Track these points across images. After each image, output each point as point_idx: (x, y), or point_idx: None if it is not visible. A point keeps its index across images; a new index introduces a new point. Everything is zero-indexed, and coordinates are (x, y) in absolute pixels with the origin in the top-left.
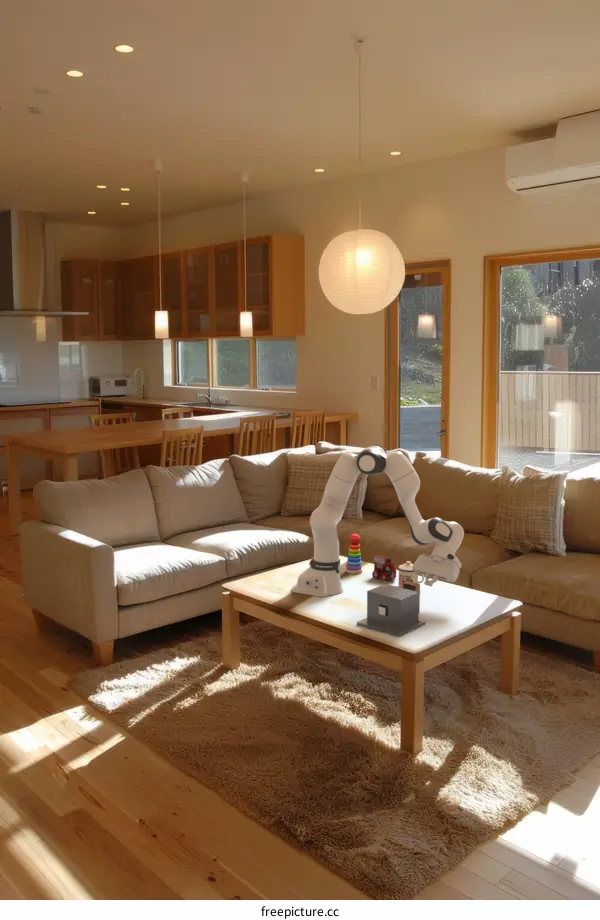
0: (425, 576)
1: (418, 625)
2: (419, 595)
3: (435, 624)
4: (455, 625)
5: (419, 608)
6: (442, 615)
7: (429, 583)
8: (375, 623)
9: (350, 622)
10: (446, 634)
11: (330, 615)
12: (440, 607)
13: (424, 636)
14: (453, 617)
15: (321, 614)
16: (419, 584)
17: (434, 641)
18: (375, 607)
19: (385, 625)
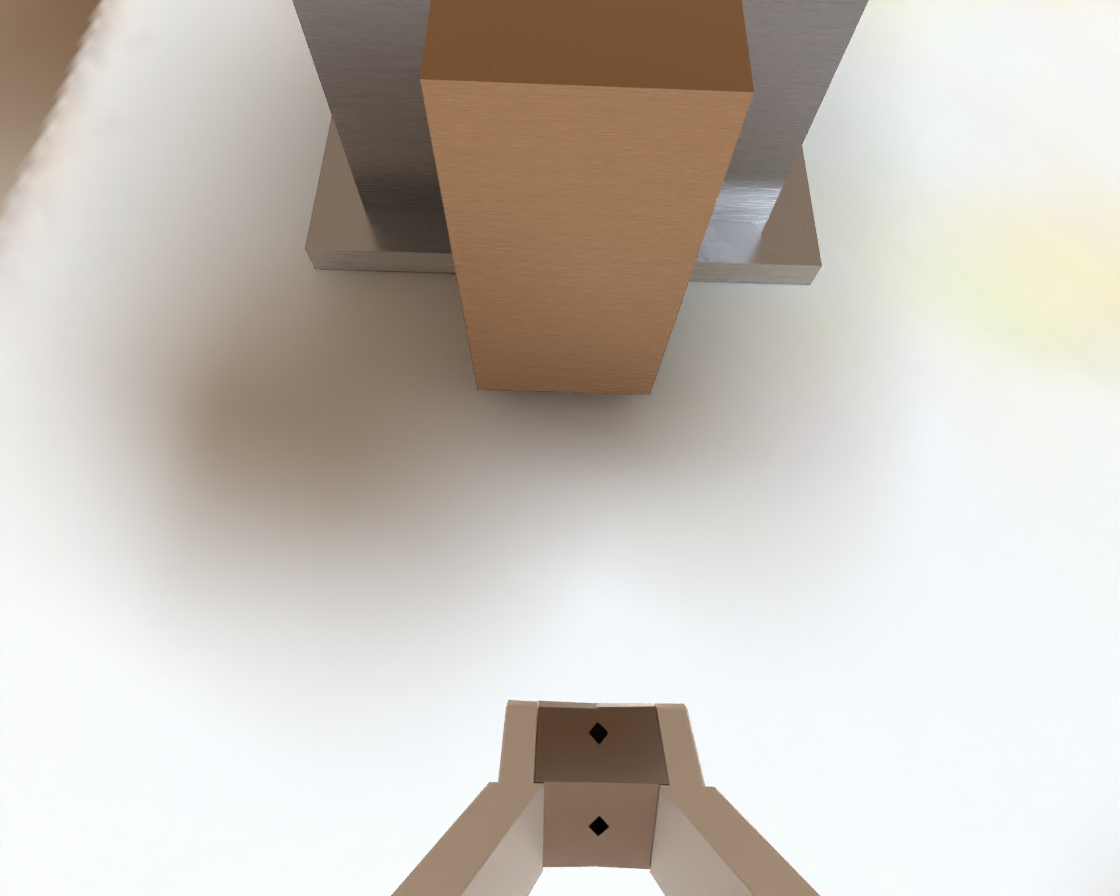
0: (787, 868)
1: (325, 154)
2: (452, 245)
3: (233, 326)
4: (27, 421)
5: (473, 362)
6: (276, 604)
7: (531, 708)
8: None
9: None
10: (46, 192)
11: (1053, 23)
12: None
13: (207, 74)
14: (126, 631)
15: (1111, 6)
16: (422, 71)
17: (95, 43)
18: None
19: None
